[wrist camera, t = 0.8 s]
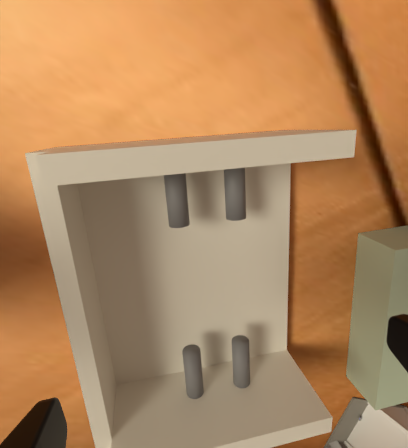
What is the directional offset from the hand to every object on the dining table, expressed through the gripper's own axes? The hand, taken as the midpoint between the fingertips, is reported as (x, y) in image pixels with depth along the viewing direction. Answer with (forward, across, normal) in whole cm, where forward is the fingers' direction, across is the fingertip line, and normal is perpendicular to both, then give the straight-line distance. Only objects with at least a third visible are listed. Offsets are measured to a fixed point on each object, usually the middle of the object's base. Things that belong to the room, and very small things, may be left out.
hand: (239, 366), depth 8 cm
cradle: (+13, -1, +4) cm, 14 cm away
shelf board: (+14, -16, +10) cm, 24 cm away
